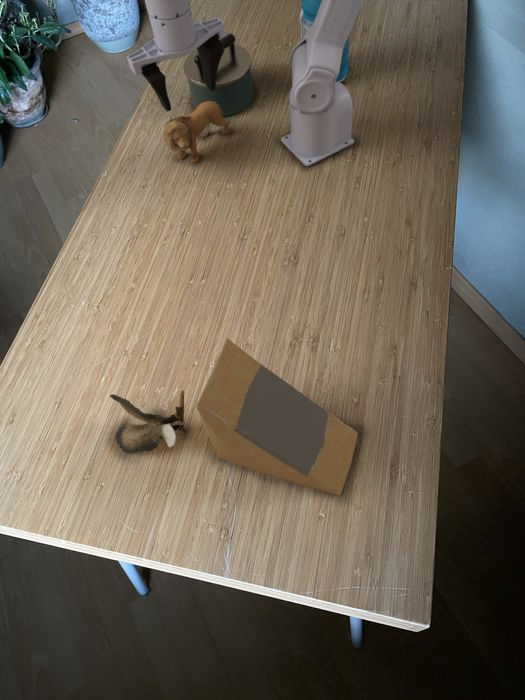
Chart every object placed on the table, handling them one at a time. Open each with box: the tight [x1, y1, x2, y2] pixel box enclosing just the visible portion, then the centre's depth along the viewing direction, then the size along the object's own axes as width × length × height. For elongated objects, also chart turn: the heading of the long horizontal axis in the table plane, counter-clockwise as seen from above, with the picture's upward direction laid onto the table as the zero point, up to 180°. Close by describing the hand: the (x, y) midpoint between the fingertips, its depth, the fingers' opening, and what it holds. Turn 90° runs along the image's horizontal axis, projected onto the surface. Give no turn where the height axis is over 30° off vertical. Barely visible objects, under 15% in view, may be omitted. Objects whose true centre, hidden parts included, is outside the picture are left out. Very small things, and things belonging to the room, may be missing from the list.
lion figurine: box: [161, 101, 230, 164], centre depth 95 cm, size 15×5×9 cm, turn 151°
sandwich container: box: [195, 337, 359, 496], centre depth 65 cm, size 9×15×15 cm, turn 71°
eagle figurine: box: [109, 389, 186, 455], centre depth 71 cm, size 8×7×9 cm
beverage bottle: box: [299, 0, 351, 83], centre depth 98 cm, size 8×8×20 cm
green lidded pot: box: [182, 33, 254, 117], centre depth 101 cm, size 12×12×10 cm
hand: (188, 97), depth 90 cm, fingers open, 7 cm apart
